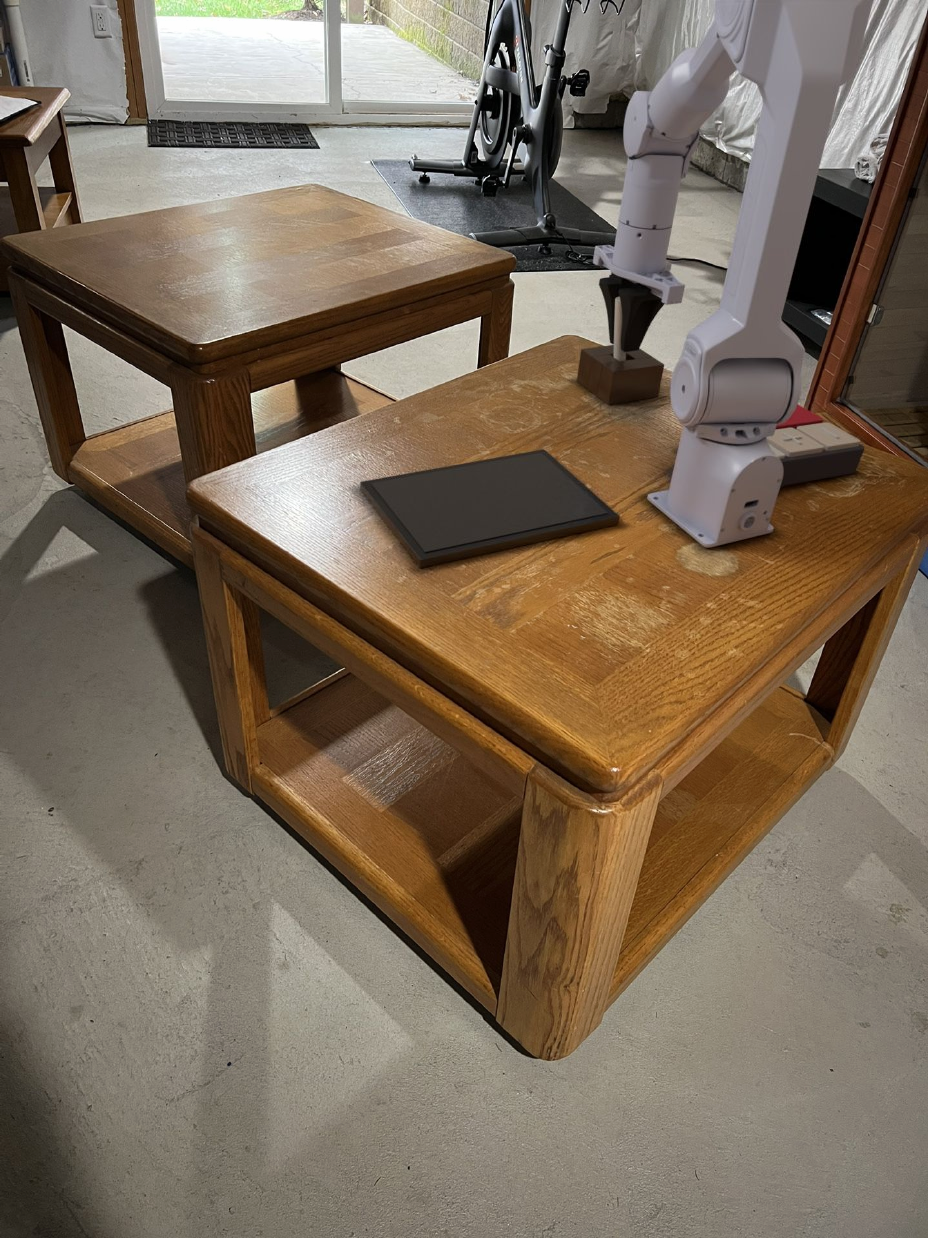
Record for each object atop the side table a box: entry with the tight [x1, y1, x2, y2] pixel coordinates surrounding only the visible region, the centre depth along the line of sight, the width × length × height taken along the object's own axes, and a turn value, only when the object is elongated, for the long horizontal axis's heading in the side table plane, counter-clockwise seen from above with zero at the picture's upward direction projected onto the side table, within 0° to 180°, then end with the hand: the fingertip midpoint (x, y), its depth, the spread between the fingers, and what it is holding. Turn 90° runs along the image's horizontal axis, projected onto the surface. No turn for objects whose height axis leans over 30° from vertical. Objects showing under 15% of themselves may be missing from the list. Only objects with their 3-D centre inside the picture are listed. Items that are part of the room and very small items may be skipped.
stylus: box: [613, 297, 626, 361], centre depth 107 cm, size 1×1×11 cm
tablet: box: [359, 448, 621, 569], centre depth 87 cm, size 14×20×1 cm
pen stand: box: [576, 344, 665, 406], centre depth 109 cm, size 7×7×4 cm
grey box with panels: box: [767, 404, 865, 489], centre depth 97 cm, size 11×4×15 cm
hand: (624, 346), depth 107 cm, fingers closed
